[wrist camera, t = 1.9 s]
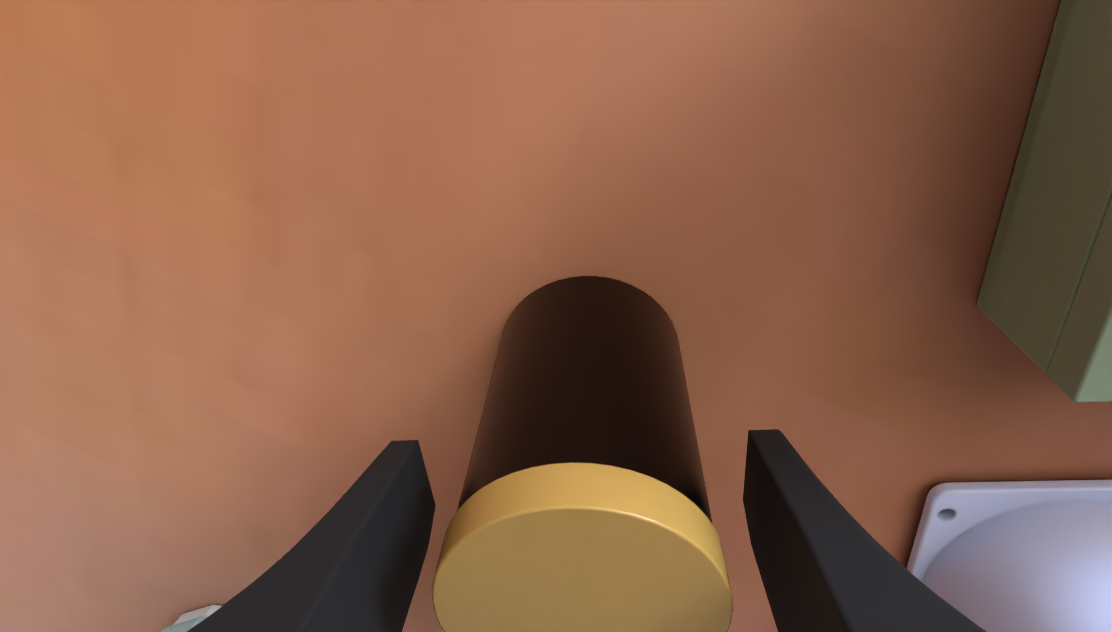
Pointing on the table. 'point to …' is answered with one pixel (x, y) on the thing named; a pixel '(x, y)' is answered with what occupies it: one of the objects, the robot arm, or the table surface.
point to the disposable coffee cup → (191, 619)
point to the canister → (584, 479)
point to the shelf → (1062, 214)
